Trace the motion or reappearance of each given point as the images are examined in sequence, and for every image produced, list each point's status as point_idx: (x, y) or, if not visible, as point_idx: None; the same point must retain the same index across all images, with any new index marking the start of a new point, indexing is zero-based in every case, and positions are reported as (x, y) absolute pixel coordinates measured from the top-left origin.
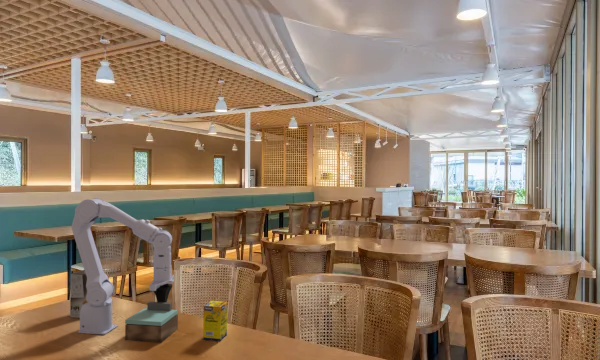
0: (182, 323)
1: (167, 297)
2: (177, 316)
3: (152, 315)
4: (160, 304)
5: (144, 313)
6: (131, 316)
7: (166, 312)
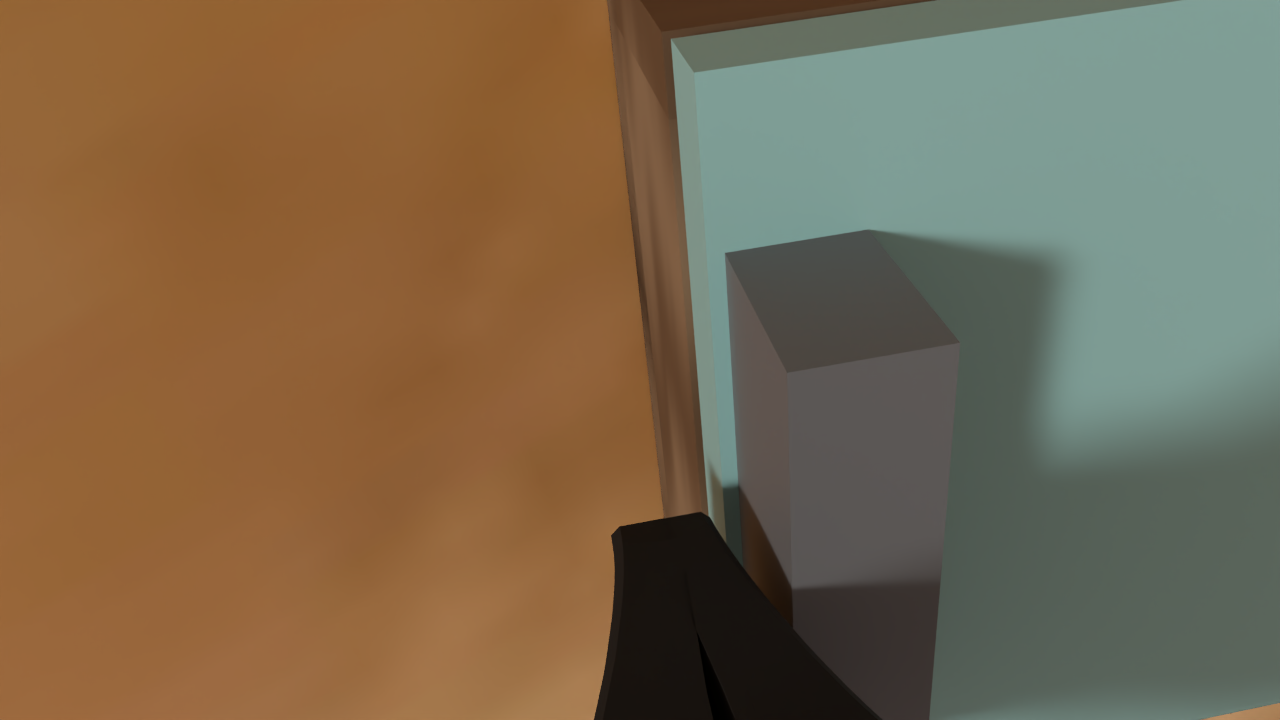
0: (244, 36)
1: (638, 697)
2: (671, 14)
3: (1222, 420)
4: (927, 585)
5: (1083, 627)
6: (1256, 699)
7: (982, 253)
